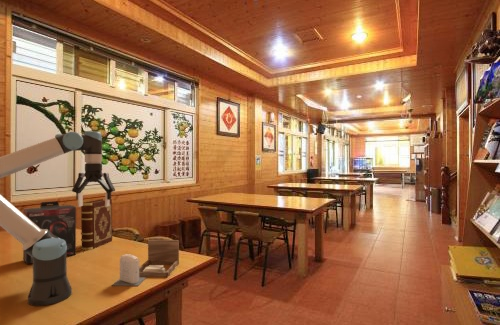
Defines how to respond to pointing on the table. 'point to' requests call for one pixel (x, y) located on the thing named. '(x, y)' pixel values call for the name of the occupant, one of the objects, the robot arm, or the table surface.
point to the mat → (123, 283)
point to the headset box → (54, 224)
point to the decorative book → (96, 224)
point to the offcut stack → (154, 268)
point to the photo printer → (129, 268)
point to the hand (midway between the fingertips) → (93, 206)
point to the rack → (161, 256)
